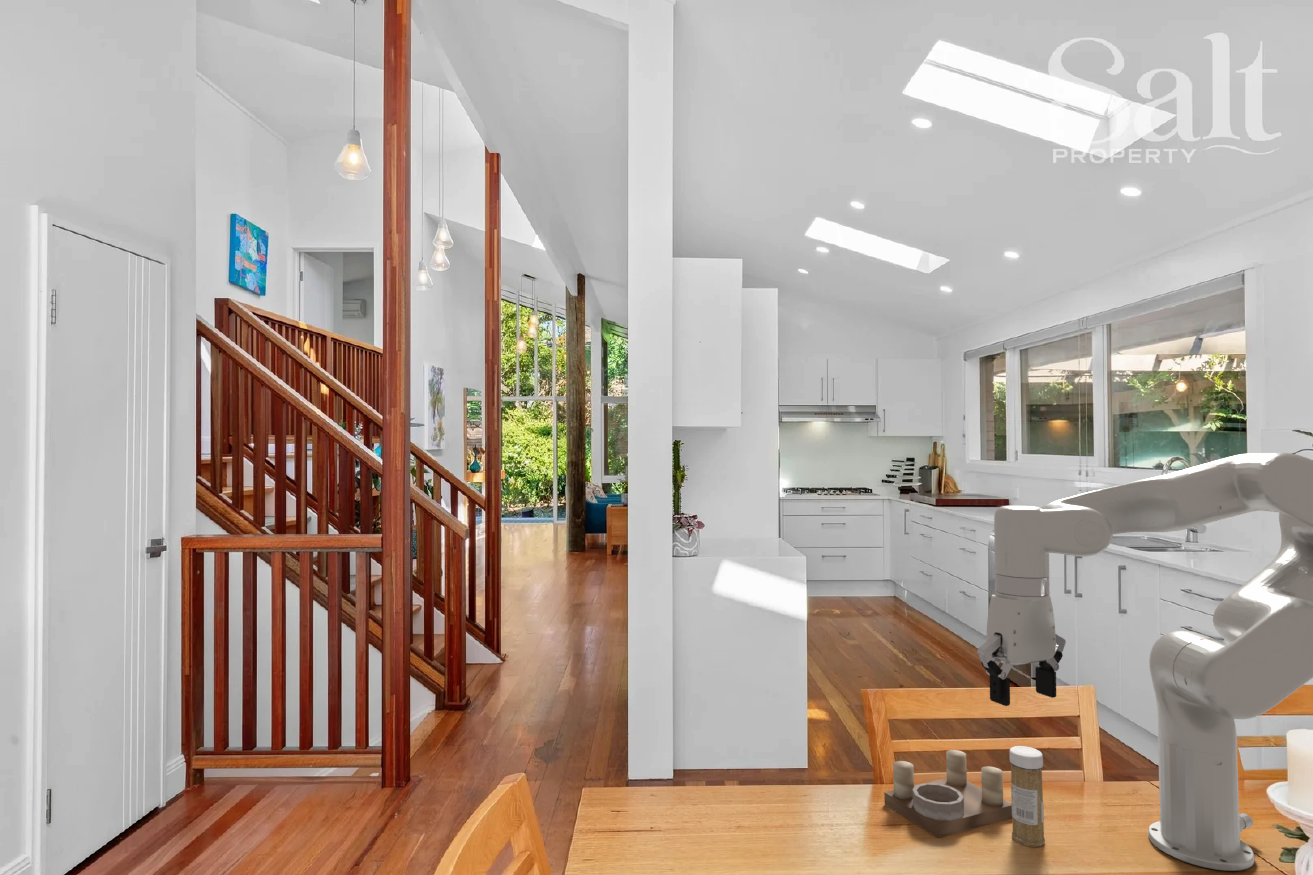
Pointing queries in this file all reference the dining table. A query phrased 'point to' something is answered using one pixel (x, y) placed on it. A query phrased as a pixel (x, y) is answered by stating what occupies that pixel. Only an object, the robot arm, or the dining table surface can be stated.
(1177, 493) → the robot arm
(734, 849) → the dining table surface
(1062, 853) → the dining table surface
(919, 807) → the bottle holder base
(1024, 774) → the sprinkles bottle
